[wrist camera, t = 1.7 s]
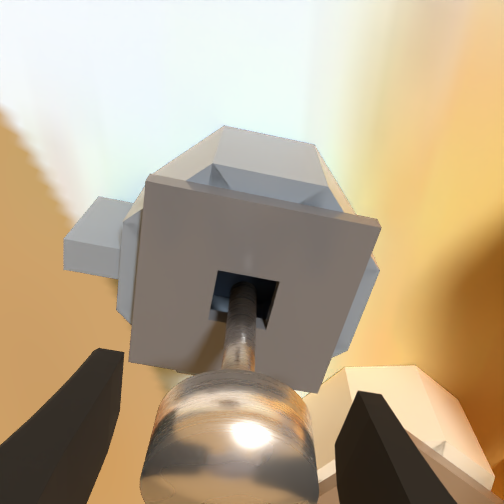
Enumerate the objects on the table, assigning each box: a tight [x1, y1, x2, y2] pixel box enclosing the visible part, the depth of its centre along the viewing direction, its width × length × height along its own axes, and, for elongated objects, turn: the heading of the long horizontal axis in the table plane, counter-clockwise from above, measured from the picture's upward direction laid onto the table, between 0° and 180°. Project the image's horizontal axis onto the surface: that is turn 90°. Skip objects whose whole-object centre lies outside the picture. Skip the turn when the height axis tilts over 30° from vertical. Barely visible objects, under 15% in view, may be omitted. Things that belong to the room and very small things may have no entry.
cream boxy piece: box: [302, 365, 504, 504], centre depth 23 cm, size 10×8×5 cm
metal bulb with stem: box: [140, 281, 319, 504], centre depth 12 cm, size 4×4×7 cm
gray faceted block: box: [64, 125, 381, 394], centre depth 17 cm, size 10×8×5 cm
